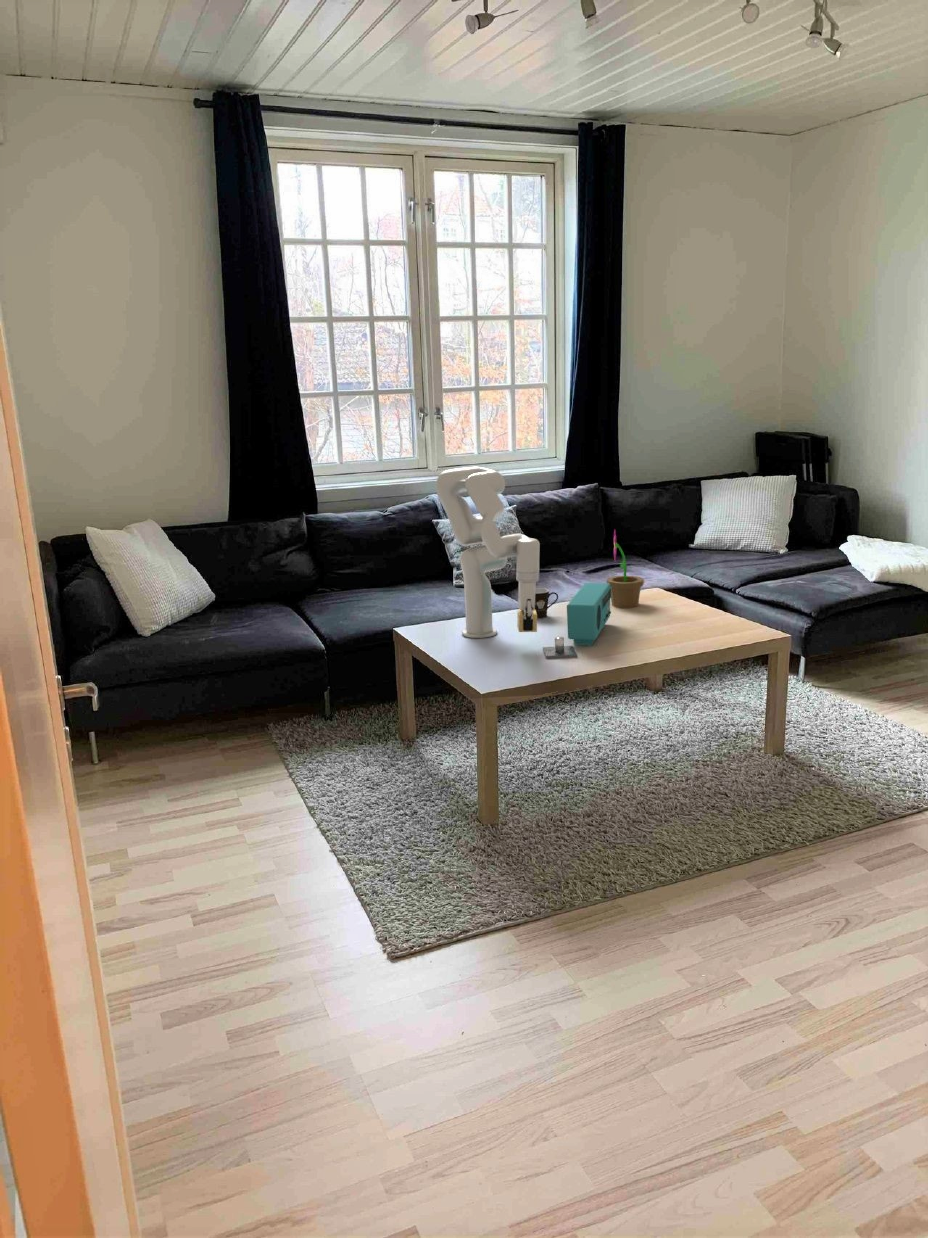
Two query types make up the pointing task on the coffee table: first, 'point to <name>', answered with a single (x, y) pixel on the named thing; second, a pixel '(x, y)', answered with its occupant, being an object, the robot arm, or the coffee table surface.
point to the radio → (588, 612)
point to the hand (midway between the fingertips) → (527, 626)
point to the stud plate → (560, 654)
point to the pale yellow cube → (520, 621)
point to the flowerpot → (624, 585)
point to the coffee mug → (542, 601)
